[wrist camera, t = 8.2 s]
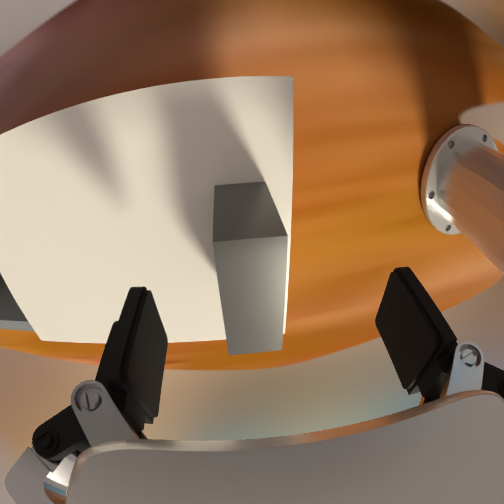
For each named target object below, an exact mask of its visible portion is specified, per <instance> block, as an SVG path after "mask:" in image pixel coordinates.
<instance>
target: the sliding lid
mask: <svg viewBox="0 0 504 504" xmlns="http://www.w3.org/2000/svg"><path fill="white" fill-rule="evenodd" d="M292 179H293V76H246V77H227V78H214V79H203V80H194V81H185V82H178V83H171V84H165V85H158V86H153V87H147V88H142V89H137V90H132V91H128V92H123V93H119V94H115V95H110V96H106V97H103V98H99V99H95V100H92V101H88V102H85V103H81V104H78V105H75V106H72V107H69V108H65V109H62V110H60V111H57V112H54V113H51V114H48V115H46V116H43V117H40V118H38V119H35V120H33V121H30V122H28V123H25V124H23V125H21V126H18V127H16V128H14V129H12V130H9V131H7V132H5V133H3V134H1V135H0V273H1V275H2V277H3V279H4V281H5V283H6V285H7V286H8V288H9V290H10V292H11V294H12V295H13V297H14V299H15V300H16V302H17V304H18V306H19V307H20V309H21V310H22V312H23V314H24V315H25V317H26V318H27V320H28V321H29V323H30V325H31V326H32V328H33V329H34V330H35V332H36V333H37V335H38V336H39V338H40V339H41V340H43V341H58V342H78V343H106V342H107V339H108V336H109V333H110V330H111V327H112V325H113V323H114V322H115V321H118V320H119V317H120V314H121V311H122V308H123V305H124V303H125V300H126V297H127V294H128V292H129V289H130V288H131V287H146V288H147V290H151V292H152V294H153V298H154V300H155V303H156V306H157V309H158V312H159V315H160V318H161V321H162V323H163V326H164V329H165V332H166V334H167V338H168V343H171V342H193V341H209V340H223V339H226V340H227V346H228V352H229V355H236V354H247V353H257V352H266V351H275V350H282V338H283V333H285V325H286V311H287V295H288V279H289V260H290V239H291V213H292Z"/></svg>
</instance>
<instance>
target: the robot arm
mask: <svg viewBox="0 0 504 504" xmlns="http://www.w3.org/2000/svg"><path fill="white" fill-rule="evenodd" d="M421 203H422V207H423V211H424V213H425V216H426V218H427V219H428V221H429V222H430V223H431V225H433V226H434V227H435V228H436V229H437V230H438V231H440V232H442V233H444V234H449V235H452V234H459V233H462V234H463V235H464V236H465V237H467V238H468V239H469V240H470V241H471V242H472V243H473V244H474V245H475V246H476V247H477V248H478V249H479V250H480V251H481V252H482V253H483V254H484V255H485V256H486V257H487V258H488V259H489V260H490V261H491V262H492V263H493V264H494V265H495V266H496V267H497V268H498V269H499V270H500V271H501V272H502V273H503V275H504V154H502V153H500V152H498V150H497V147H496V145H495V142H494V140H493V139H492V137H491V136H490V135H489V134H488V133H487V132H486V131H485V130H483V129H481V128H479V127H477V126H474V125H470V124H462V125H458V126H455V127H453V128H452V129H450V130H448V131H447V132H446V133H445V134H444V135H443V136H442V137H441V138H440V139H439V140H438V142H437V143H436V144H435V146H434V147H433V149H432V151H431V153H430V155H429V157H428V160H427V162H426V165H425V168H424V172H423V176H422V182H421ZM375 323H376V327H377V329H378V331H379V333H380V335H381V337H382V340H383V342H384V344H385V346H386V349H387V351H388V353H389V355H390V358H391V360H392V362H393V365H394V367H395V369H396V372H397V374H398V377H399V379H400V381H401V384H402V386H403V388H404V389H407V391H408V394H409V395H411V394H414V393H417V392H421V394H422V397H421V400H420V403H419V406H417V407H413V408H410V409H407V410H404V411H401V412H398V413H394V414H391V415H388V416H384V417H380V418H376V419H373V420H369V421H365V422H361V423H356V424H352V425H348V426H343V427H338V428H333V429H328V430H322V431H316V432H310V433H304V434H297V435H289V436H281V437H271V438H260V439H246V440H224V441H179V440H152V439H148V438H147V437H146V436H145V434H144V433H143V432H142V430H143V429H144V423H148V424H153V419H154V417H157V416H158V411H159V403H160V395H161V387H162V379H163V372H164V365H165V359H166V352H167V346H168V338H167V334H166V332H165V329H164V326H163V323H162V321H161V318H160V315H159V312H158V309H157V306H156V303H155V300H154V298H153V294H152V292H151V290H147V288H146V287H131V288H130V289H129V292H128V294H127V297H126V300H125V303H124V305H123V308H122V311H121V314H120V317H119V320H118V321H115V322H114V323H113V325H112V327H111V330H110V333H109V336H108V339H107V342H106V345H105V349H104V352H103V355H102V358H101V362H100V365H99V368H98V372H97V375H96V379H95V381H94V380H87V381H84V382H81V383H80V384H79V385H77V386H76V387H75V389H74V390H73V392H72V395H71V405H70V406H68V407H67V408H66V409H64V410H62V411H61V412H59V413H58V414H57V415H55V416H53V417H52V418H51V419H49V420H48V421H46V422H45V423H43V424H41V425H40V426H39V427H38V428H37V429H36V430H35V432H34V434H33V438H32V440H33V441H32V444H33V446H32V448H30V447H28V448H27V449H26V450H25V452H24V453H23V454H22V455H21V457H20V458H19V459H18V461H17V462H16V463H15V464H14V466H13V467H12V468H11V470H10V471H9V472H8V474H7V476H6V479H5V485H6V489H7V491H8V493H9V494H10V495H11V497H12V498H13V499H14V501H15V502H16V503H17V504H504V371H503V370H501V369H499V368H497V367H495V366H493V365H490V364H488V363H486V362H484V355H483V352H482V350H481V349H480V348H479V347H478V346H477V345H476V344H474V343H472V342H469V341H463V342H461V343H459V344H457V342H456V340H457V338H456V336H455V335H454V333H453V331H452V330H451V328H450V327H449V325H448V323H447V322H446V320H445V318H444V317H443V315H442V314H441V312H440V311H439V309H438V308H437V306H436V305H435V303H434V302H433V300H432V299H431V297H430V296H429V294H428V293H427V291H426V290H425V288H424V287H423V286H422V284H421V283H420V281H419V280H418V279H417V277H416V276H415V274H414V273H413V272H412V270H411V269H410V268H409V267H400V268H395V269H394V271H393V272H391V274H390V276H389V280H388V283H387V286H386V289H385V292H384V295H383V298H382V301H381V304H380V307H379V310H378V313H377V315H376V319H375ZM67 487H68V489H67ZM66 490H67V496H66Z"/></svg>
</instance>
